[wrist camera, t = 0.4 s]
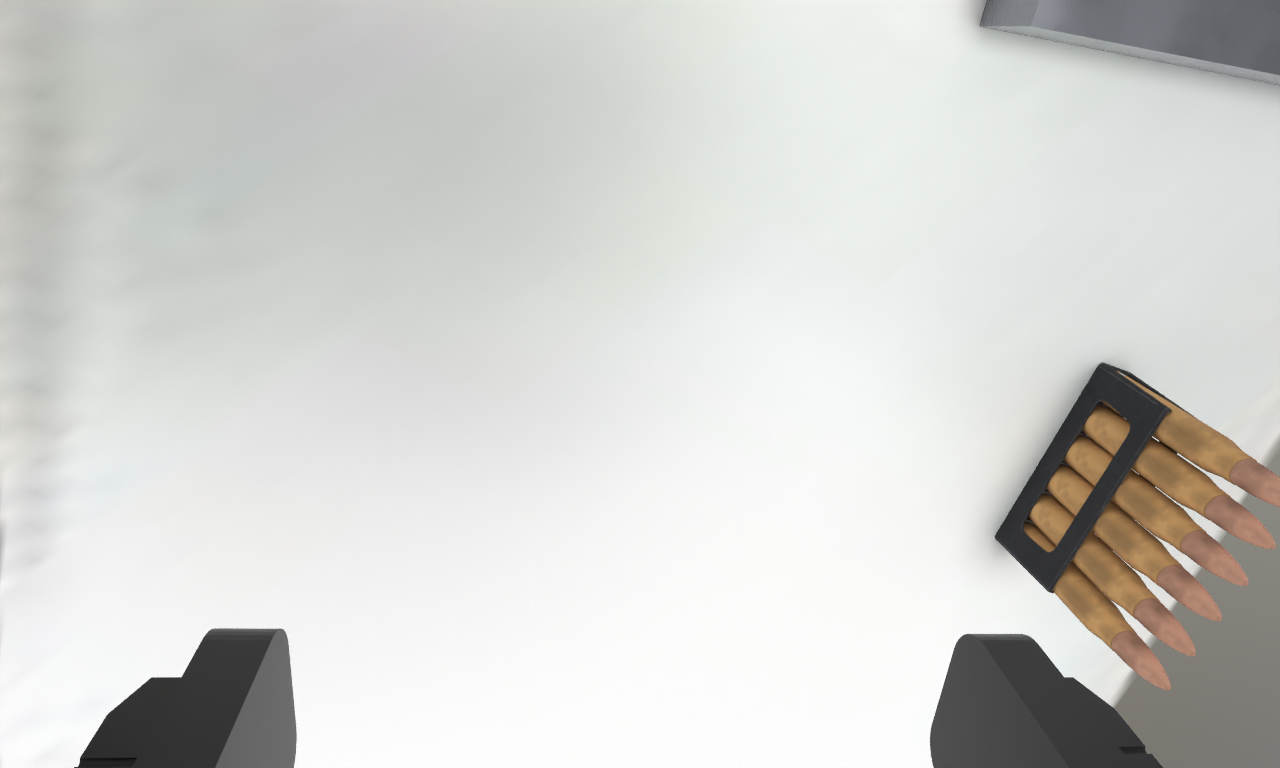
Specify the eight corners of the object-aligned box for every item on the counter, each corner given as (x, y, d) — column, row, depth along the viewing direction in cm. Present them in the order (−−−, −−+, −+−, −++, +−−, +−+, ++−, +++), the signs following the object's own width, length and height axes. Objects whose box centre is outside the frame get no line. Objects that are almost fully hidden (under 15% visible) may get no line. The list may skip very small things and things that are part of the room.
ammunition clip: (1100, 361, 42) (1299, 480, 31) (1130, 372, 42) (1337, 494, 31) (993, 537, 45) (1137, 701, 34) (1022, 546, 46) (1173, 711, 35)
